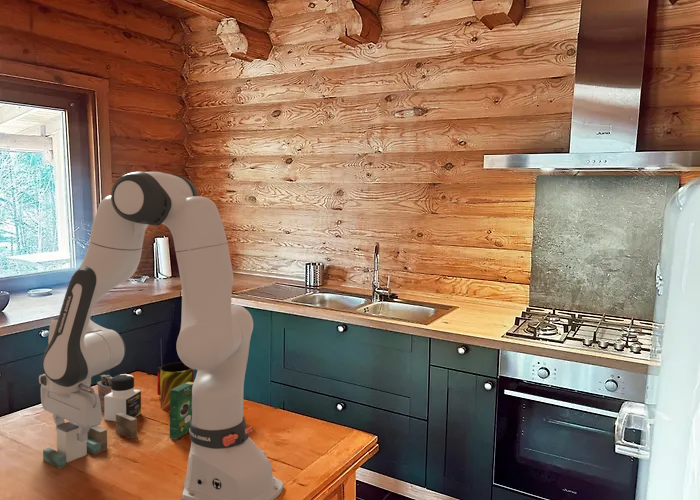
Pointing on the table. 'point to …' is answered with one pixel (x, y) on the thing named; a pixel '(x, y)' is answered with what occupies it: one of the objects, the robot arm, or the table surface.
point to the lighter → (104, 388)
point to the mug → (172, 380)
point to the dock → (96, 439)
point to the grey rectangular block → (70, 441)
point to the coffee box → (180, 410)
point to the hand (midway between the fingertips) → (71, 435)
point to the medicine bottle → (122, 398)
